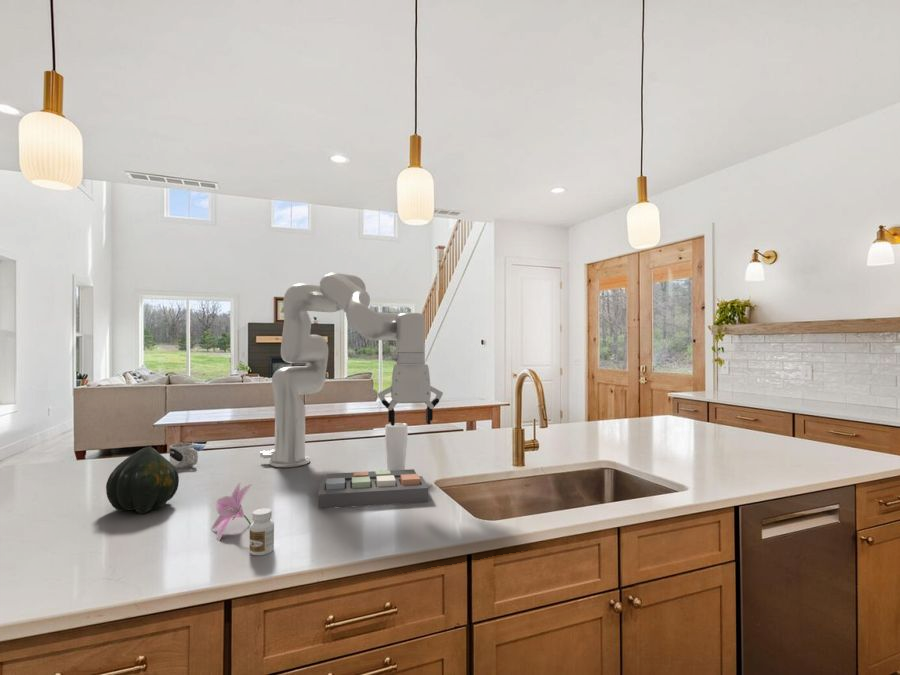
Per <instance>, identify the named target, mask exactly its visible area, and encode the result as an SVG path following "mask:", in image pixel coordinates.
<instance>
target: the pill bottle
mask: <svg viewBox="0 0 900 675" xmlns="http://www.w3.org/2000/svg"><path fill="white" fill-rule="evenodd" d="M272 513H273V512H272V509H271V508H268V507H267V508H266V507H263V508H258V509H255V510H254V511H252V514H251V517H252V519H251V520H252V521H253V522H250V523H251V525H250V524H249V553H250V554H251V555H254V556H265V555H268V554H270V553H271V552H273V550H274V549H275V548H274V547H275V524H274V521H273V520H272Z"/></svg>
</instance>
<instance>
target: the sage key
mask: <svg viewBox="0 0 900 675" xmlns="http://www.w3.org/2000/svg"><path fill="white" fill-rule="evenodd" d="M366 487H370V476H369V477H352V488H366Z"/></svg>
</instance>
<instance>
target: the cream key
mask: <svg viewBox="0 0 900 675" xmlns="http://www.w3.org/2000/svg"><path fill="white" fill-rule="evenodd" d="M376 486H377V487H383V486H396V480H395V477H394V475H387V476H376Z"/></svg>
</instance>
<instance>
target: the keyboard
mask: <svg viewBox="0 0 900 675" xmlns="http://www.w3.org/2000/svg"><path fill="white" fill-rule="evenodd" d="M406 474H417V473H416V471H415V469H413V468H412V469H411V468H410V469H405V470H374V471H353V472H338V473H337V472H335V473H327V474H326V480H327V479H332V478H345V489H332V490H326V480H324V481H320V485H319V489H318V503H317V504H318V505H317V506H318V507H317V509H318V510H323V509H322V508H326V509H336V508H335V507H341V508H351V507H352V508H354V507H353V506H356V507H367V506H368V505H371V506H383V505H384V504H386V505H397V504H411V503H412V504H414V503H427V502H429V486H428V484H427V483H426V481H425V479H424V477H423V476H422V475H418V476H419V478H420V484H417V485H401V484H400V475H406ZM387 475H394V477H395V480H396V486H383V487H377V486H376V476H387ZM369 476H370V487H366V488H352V477H369ZM368 507H369V506H368Z"/></svg>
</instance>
